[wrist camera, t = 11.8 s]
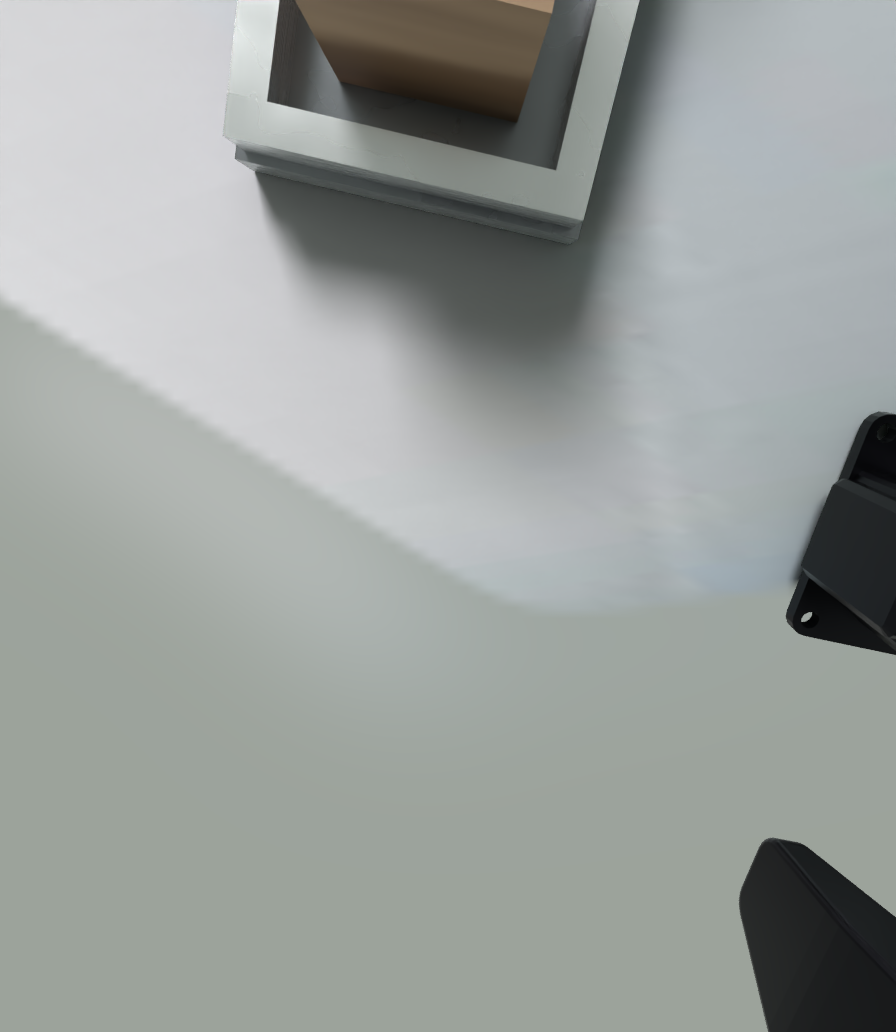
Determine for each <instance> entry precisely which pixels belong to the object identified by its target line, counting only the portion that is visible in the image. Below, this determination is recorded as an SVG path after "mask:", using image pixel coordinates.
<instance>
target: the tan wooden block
mask: <svg viewBox="0 0 896 1032" xmlns="http://www.w3.org/2000/svg"><path fill="white" fill-rule="evenodd" d="M295 1H296V3H297V5H298V7H299V8H300V10H301V12H302V14H303V16H304V18H305V20H306V21H307V23H308V25H309V27H310V29H311V31H312V32H313V34H314V36H315V38H316V40H317V42H318V44H319V45H320V47H321V49H322V51H323V53H324V55H325V56H326V58H327V60H328V62H329V64H330V66H331V68H332V69H333V71H334V73H335V75H336V77H337V79H338V80H339V81H340V82H345V83H349V84H353V85H357V86H362V87H366V88H370V89H375V90H379V91H383V92H387V93H392V94H396V95H400V96H404V97H409V98H413V99H417V100H422V101H426V102H430V103H434V104H439V105H443V106H447V107H452V108H456V109H460V110H464V111H469V112H473V113H477V114H481V115H486V116H490V117H494V118H499V119H503V120H507V121H511V122H516V123H517V122H518V119H519V115H520V112H521V109H522V106H523V103H524V100H525V97H526V93H527V90H528V87H529V84H530V81H531V78H532V74H533V71H534V68H535V65H536V62H537V59H538V55H539V52H540V49H541V46H542V43H543V40H544V37H545V33H546V30H547V27H548V24H549V21H550V18H551V14H552V10H553V6H554V1H555V0H295Z"/></svg>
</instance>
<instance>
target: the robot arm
mask: <svg viewBox="0 0 896 1032" xmlns="http://www.w3.org/2000/svg"><path fill="white" fill-rule="evenodd" d="M884 424H887V426H888V431H887V434H886V435H885V436H884V437H883V438H881V439H879V440H878V438H877V431H878V430H879V428H880V427H881V426H882V425H884ZM801 565H802V568H803V572H802V574H801V577H800V579H799V582H798V584H797V587H796V589H795V592H794V594H793V597H792V599H791V602H790V605H789V607H788V609H787V613H786V619H787V622H788V624H789V625H790V626H791V627H792V628H793V629H794V630H795V631H796V632H797V633H799V634H801V635H804V636H808V637H813V638H817V639H822V640H827V641H832V642H837V643H842V644H846V645H851V646H856V647H860V648H866V649H870V650H875V651H879V652H885V653H889V654H894V655H896V414H892V413H887V412H877V413H874V414H871V415H870V416H868V417H867V418H866V419H865V420H864V421H863V423H862V424H861V426H860V428H859V431H858V433H857V436H856V438H855V441H854V443H853V446H852V448H851V451H850V453H849V456H848V458H847V461H846V464H845V466H844V469H843V471H842V474H841V476H840V479H839V481H838V482H837V483H835V484H834V485H833V486H832V488H831V490H830V493H829V495H828V498H827V501H826V503H825V506H824V508H823V511H822V513H821V516H820V518H819V521H818V523H817V526H816V528H815V531H814V533H813V536H812V538H811V541H810V543H809V546H808V548H807V551H806V554H805V556H804V559H803V561H802V564H801ZM808 612H812V616H811V618H810V619H809V620H808V621H806V622H801V618H802V617H803V615H804V614H806V613H808ZM739 907H740V915H741V919H742V923H743V927H744V932H745V936H746V940H747V945H748V949H749V952H750V957H751V961H752V965H753V970H754V974H755V978H756V983H757V987H758V991H759V995H760V999H761V1003H762V1008H763V1012H764V1016H765V1020H766V1025H767V1029H768V1032H896V917H895V916H893V915H892V914H891V913H890V912H888V911H887V910H886V909H885V908H883V907H882V906H881V905H879V904H878V903H877V902H876V901H874V900H873V899H872V898H871V897H869V896H868V895H867V894H865V893H864V892H863V891H862V890H861V889H859V888H858V887H857V886H856V885H854V884H853V883H852V882H851V881H849V880H848V879H846V877H844V876H843V875H842V874H840V873H839V872H838V871H837V870H835V869H834V868H833V867H832V866H830V865H829V864H828V863H827V862H825V861H824V860H823V859H822V858H820V857H819V856H818V855H816V854H815V853H814V852H813V851H812V850H810V849H809V848H808V847H806V846H805V845H803V844H801V843H798V842H792V841H787V840H782V839H777V838H768V839H766V840H764V841H763V842H762V844H761V845H760V847H759V849H758V851H757V854H756V856H755V858H754V860H753V863H752V865H751V868H750V870H749V872H748V874H747V876H746V879H745V881H744V884H743V886H742V889H741V892H740V897H739Z"/></svg>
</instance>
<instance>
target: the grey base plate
mask: <svg viewBox="0 0 896 1032" xmlns="http://www.w3.org/2000/svg"><path fill="white" fill-rule="evenodd" d="M638 4H639V0H555V1H554V6H553V10H552V14H551V18H550V21H549V24H548V27H547V30H546V33H545V37H544V40H543V43H542V46H541V49H540V52H539V55H538V59H537V62H536V65H535V68H534V71H533V74H532V78H531V81H530V84H529V87H528V90H527V93H526V97H525V100H524V103H523V106H522V109H521V112H520V115H519V119H518V122H517V123H516V122H511V121H507V120H503V119H499V118H494V117H490V116H486V115H481V114H477V113H473V112H469V111H464V110H460V109H456V108H452V107H447V106H443V105H439V104H434V103H430V102H426V101H422V100H417V99H413V98H409V97H404V96H400V95H396V94H392V93H387V92H383V91H379V90H375V89H370V88H366V87H362V86H357V85H353V84H349V83H345V82H340V81H339V80H338V79H337V77H336V75H335V73H334V71H333V69H332V68H331V66H330V64H329V62H328V60H327V58H326V56H325V55H324V53H323V51H322V49H321V47H320V45H319V44H318V42H317V40H316V38H315V36H314V34H313V32H312V31H311V29H310V27H309V25H308V23H307V21H306V20H305V18H304V16H303V14H302V12H301V10H300V8H299V7H298V5H297V3H296V1H295V0H237V9H236V18H235V27H234V37H233V46H232V55H231V64H230V74H229V83H228V92H227V102H226V111H225V120H224V129H223V136H224V137H225V138H227V139H228V140H230V141H231V142H233V143H234V144H235V145H236V153H235V159H236V160H237V161H239V162H241V163H242V164H244V165H245V166H247V167H248V168H250V169H251V170H253V171H256V172H260V173H264V174H269V175H273V176H277V177H281V178H286V179H290V180H294V181H298V182H303V183H307V184H311V185H316V186H320V187H324V188H328V189H333V190H337V191H341V192H346V193H350V194H354V195H358V196H363V197H367V198H371V199H375V200H380V201H384V202H388V203H393V204H397V205H401V206H405V207H410V208H414V209H418V210H422V211H427V212H431V213H435V214H440V215H444V216H448V217H452V218H457V219H461V220H465V221H469V222H474V223H478V224H482V225H487V226H491V227H495V228H499V229H504V230H508V231H512V232H517V233H521V234H525V235H529V236H534V237H538V238H542V239H546V240H551V241H555V242H559V243H564V244H568V245H569V244H570V243H572V242H574V241H576V240H578V238H579V234H580V230H581V226H582V222H583V220H584V216H585V212H586V208H587V204H588V200H589V196H590V192H591V188H592V184H593V181H594V177H595V173H596V169H597V165H598V161H599V157H600V153H601V149H602V145H603V141H604V137H605V133H606V130H607V126H608V122H609V118H610V114H611V110H612V106H613V102H614V98H615V94H616V90H617V86H618V83H619V79H620V75H621V71H622V67H623V63H624V59H625V55H626V51H627V47H628V43H629V39H630V35H631V32H632V28H633V24H634V20H635V16H636V12H637V8H638Z"/></svg>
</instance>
